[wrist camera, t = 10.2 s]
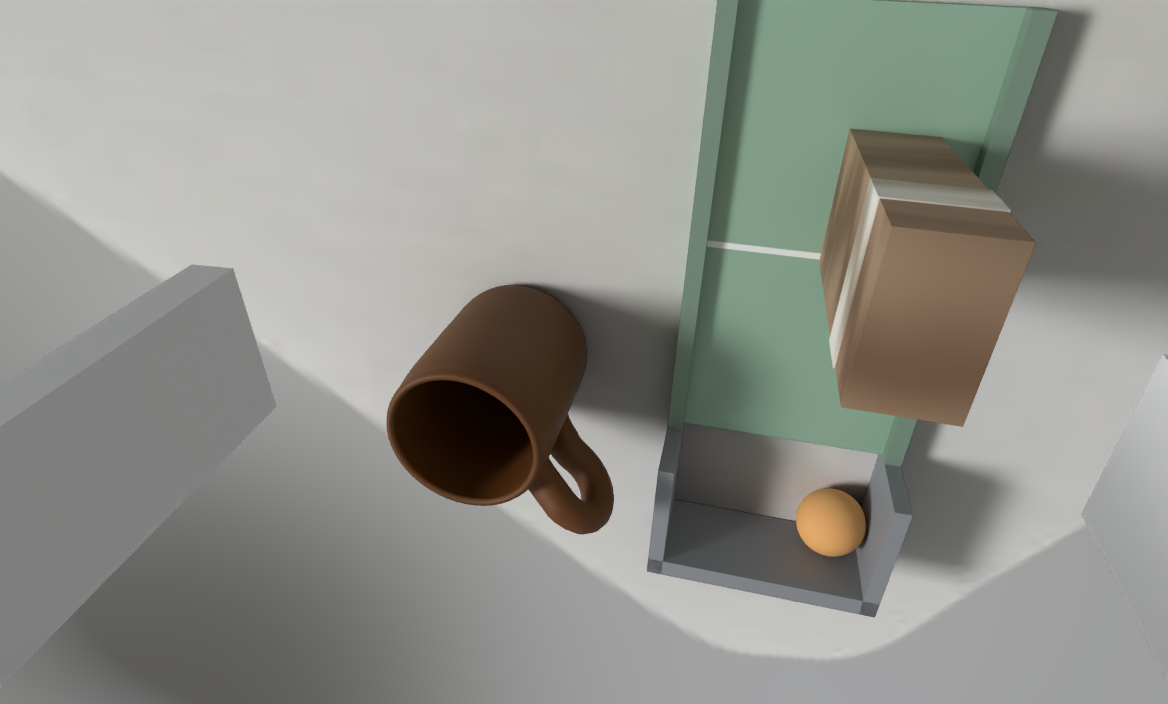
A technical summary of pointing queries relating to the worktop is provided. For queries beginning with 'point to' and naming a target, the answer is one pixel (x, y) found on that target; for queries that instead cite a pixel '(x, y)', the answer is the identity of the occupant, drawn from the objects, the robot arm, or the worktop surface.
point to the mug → (502, 410)
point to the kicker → (916, 276)
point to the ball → (831, 522)
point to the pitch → (812, 255)
